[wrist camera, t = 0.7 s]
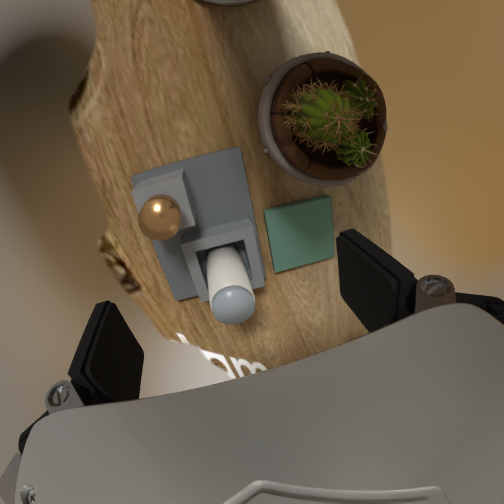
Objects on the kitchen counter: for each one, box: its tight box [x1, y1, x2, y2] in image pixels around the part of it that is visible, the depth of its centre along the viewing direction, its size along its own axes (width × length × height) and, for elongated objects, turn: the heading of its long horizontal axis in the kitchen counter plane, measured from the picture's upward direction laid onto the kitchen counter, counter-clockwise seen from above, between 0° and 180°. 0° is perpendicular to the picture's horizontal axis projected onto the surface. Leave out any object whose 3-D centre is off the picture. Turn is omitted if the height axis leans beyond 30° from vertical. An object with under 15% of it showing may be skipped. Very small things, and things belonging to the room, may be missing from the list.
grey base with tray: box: [131, 146, 266, 302], centre depth 36 cm, size 20×14×6 cm
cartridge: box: [206, 242, 255, 324], centre depth 35 cm, size 5×5×12 cm
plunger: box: [138, 194, 182, 241], centre depth 29 cm, size 4×4×6 cm
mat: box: [263, 195, 334, 273], centre depth 41 cm, size 10×10×1 cm
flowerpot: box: [258, 51, 387, 188], centre depth 25 cm, size 14×15×20 cm
